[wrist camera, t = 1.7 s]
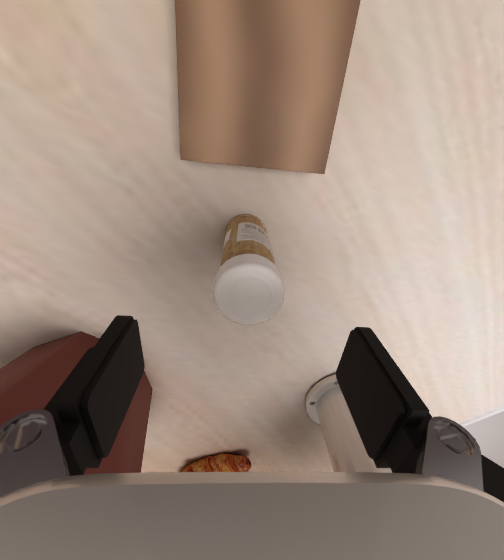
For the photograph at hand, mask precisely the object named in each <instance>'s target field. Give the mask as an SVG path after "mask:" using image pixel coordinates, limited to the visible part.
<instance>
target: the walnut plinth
mask: <svg viewBox="0 0 504 560" xmlns="http://www.w3.org/2000/svg"><path fill="white" fill-rule="evenodd" d="M359 5H360V0H175V11H176V40H177V69H178V98H179V127H180V155H181V160H188V161H198V162H208V163H218V164H228V165H238V166H248V167H258V168H268V169H278V170H289V171H299V172H309V173H319V174H324V173H325V168H326V163H327V159H328V154H329V149H330V144H331V139H332V135H333V130H334V125H335V120H336V115H337V111H338V106H339V101H340V96H341V91H342V87H343V82H344V77H345V72H346V67H347V63H348V58H349V53H350V48H351V43H352V39H353V34H354V29H355V24H356V19H357V15H358V10H359Z"/></svg>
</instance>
